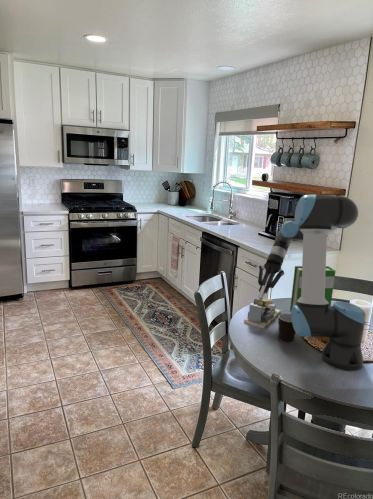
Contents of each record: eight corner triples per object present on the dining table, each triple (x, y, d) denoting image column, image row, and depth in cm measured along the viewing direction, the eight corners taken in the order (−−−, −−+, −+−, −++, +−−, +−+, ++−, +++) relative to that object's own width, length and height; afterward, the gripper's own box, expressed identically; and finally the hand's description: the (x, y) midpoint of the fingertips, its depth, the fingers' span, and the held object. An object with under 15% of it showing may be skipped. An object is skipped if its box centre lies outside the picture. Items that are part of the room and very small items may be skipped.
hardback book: (295, 316, 192) (300, 270, 186) (290, 310, 199) (295, 265, 193) (329, 316, 193) (335, 270, 187) (322, 310, 200) (328, 266, 194)
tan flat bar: (273, 304, 191) (263, 306, 179) (263, 302, 194) (253, 304, 182) (274, 300, 191) (264, 301, 179) (264, 297, 194) (254, 299, 182)
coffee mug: (291, 345, 162) (294, 323, 160) (272, 339, 167) (275, 317, 165) (302, 335, 171) (304, 315, 169) (283, 330, 176) (286, 309, 174)
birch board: (263, 328, 177) (264, 325, 177) (243, 322, 182) (244, 319, 182) (280, 312, 195) (280, 310, 195) (262, 308, 200) (262, 305, 200)
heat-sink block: (263, 324, 177) (265, 308, 175) (245, 319, 182) (246, 303, 180) (278, 311, 193) (279, 296, 191) (261, 307, 198) (262, 292, 196)
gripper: (290, 263, 190) (274, 305, 181) (265, 259, 197) (249, 298, 187) (287, 255, 184) (271, 298, 175) (262, 250, 191) (245, 291, 182)
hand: (260, 298), depth 181 cm, fingers closed
